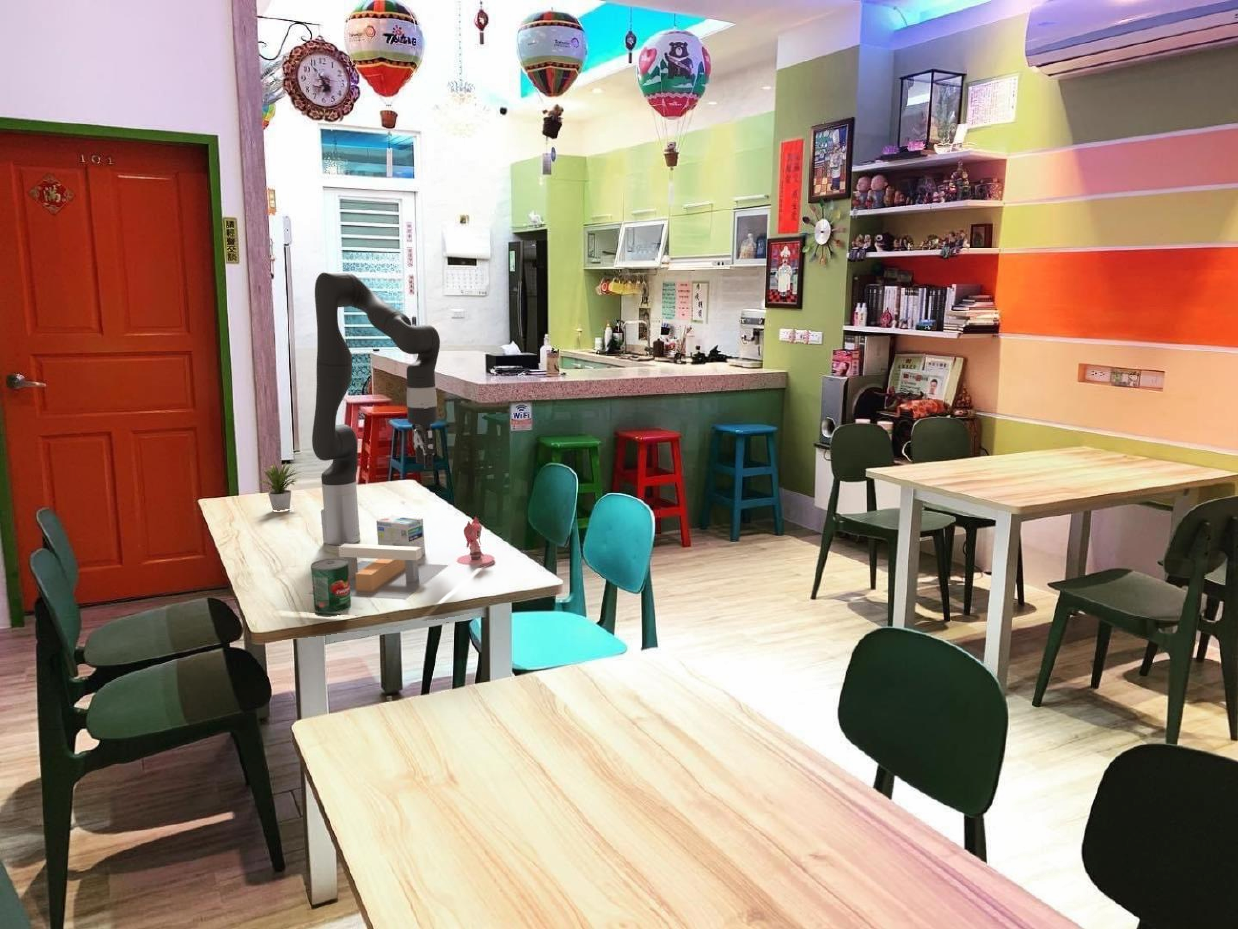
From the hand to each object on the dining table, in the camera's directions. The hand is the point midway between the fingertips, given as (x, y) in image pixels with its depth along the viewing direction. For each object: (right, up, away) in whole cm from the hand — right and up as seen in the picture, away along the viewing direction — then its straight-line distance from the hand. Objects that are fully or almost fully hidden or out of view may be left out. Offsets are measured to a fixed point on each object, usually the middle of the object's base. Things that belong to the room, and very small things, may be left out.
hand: (424, 466), depth 232 cm
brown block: (-7, -27, -14) cm, 32 cm away
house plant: (-60, -15, +60) cm, 86 cm away
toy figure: (+13, -25, +1) cm, 28 cm away
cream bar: (-7, -22, -15) cm, 28 cm away
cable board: (-7, -28, -14) cm, 32 cm away
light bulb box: (-7, -25, +6) cm, 26 cm away
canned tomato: (-13, -32, -33) cm, 48 cm away
